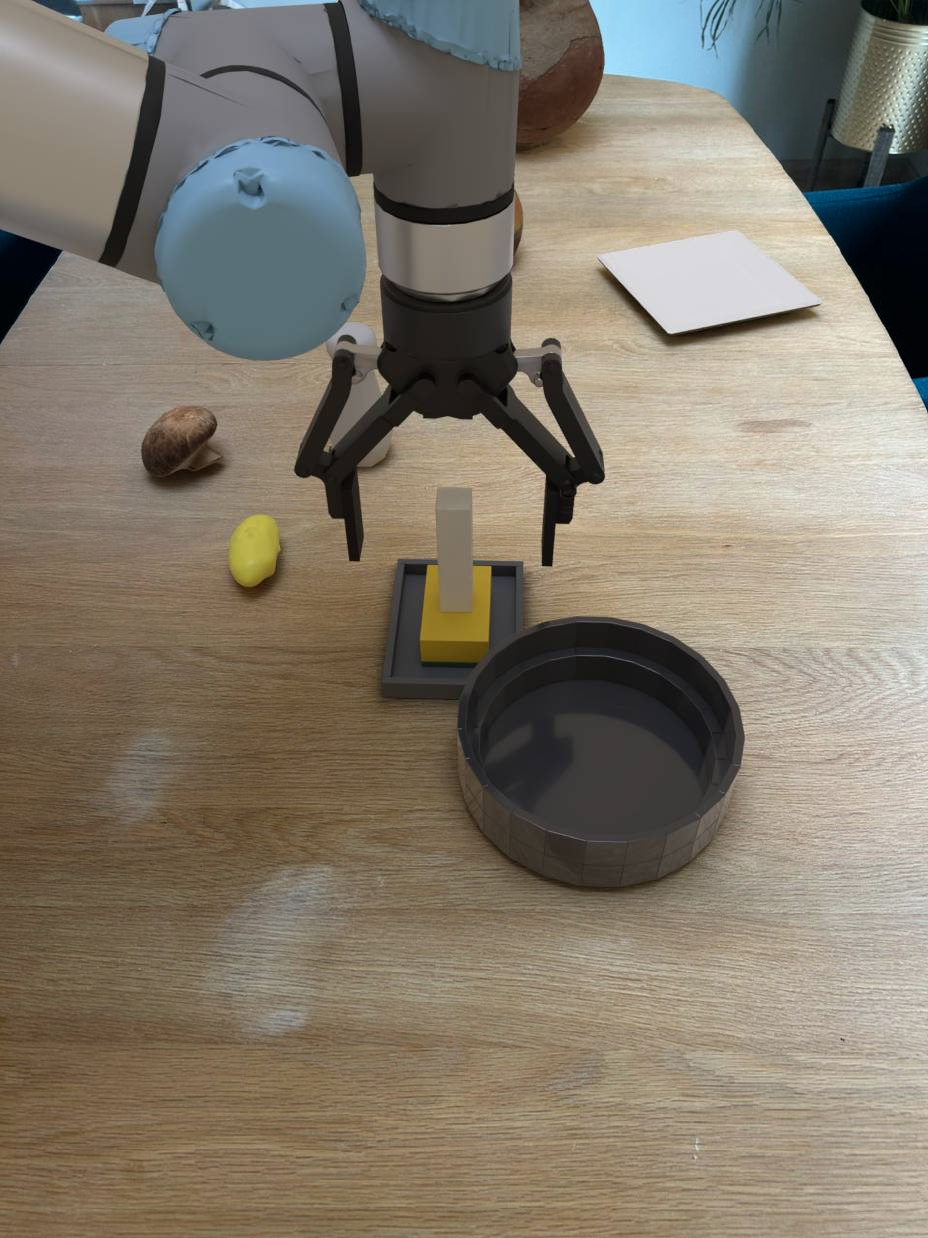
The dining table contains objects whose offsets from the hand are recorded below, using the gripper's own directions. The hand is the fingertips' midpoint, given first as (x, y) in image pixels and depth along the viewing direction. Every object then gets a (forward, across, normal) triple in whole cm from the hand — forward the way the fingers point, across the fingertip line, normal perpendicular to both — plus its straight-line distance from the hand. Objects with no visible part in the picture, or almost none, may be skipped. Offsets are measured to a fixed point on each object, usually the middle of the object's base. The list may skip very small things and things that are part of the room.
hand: (451, 551), depth 71 cm
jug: (+8, -5, -98) cm, 99 cm away
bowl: (+9, -10, +13) cm, 18 cm away
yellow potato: (+9, +17, -7) cm, 20 cm away
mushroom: (+9, +26, -21) cm, 34 cm away
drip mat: (+9, 0, 0) cm, 9 cm away
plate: (+8, -26, -54) cm, 60 cm away
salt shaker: (+9, +10, -23) cm, 26 cm away
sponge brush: (+8, 0, 0) cm, 8 cm away
